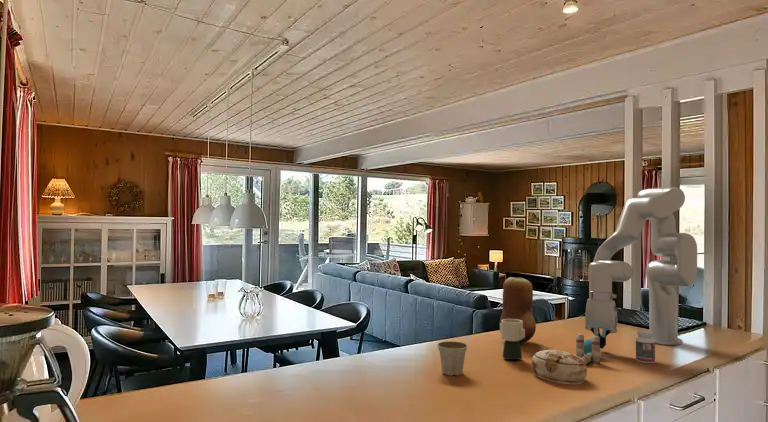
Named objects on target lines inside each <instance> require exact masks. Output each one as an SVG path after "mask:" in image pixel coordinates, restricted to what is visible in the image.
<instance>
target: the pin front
mask: <svg viewBox="0 0 768 422" xmlns="http://www.w3.org/2000/svg"><path fill="white" fill-rule="evenodd" d="M581 359H583V360H584V363H585V365H587V364H589V363H590V362H592V353H587V354H586V355H585V354H584V356H583V357H581Z"/></svg>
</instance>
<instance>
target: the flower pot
mask: <svg viewBox="0 0 768 422" xmlns="http://www.w3.org/2000/svg"><path fill="white" fill-rule="evenodd" d="M436 345H437V347H438V351H439V357H440V363H441V372H442V374H443V375H447V376H449V377H450V376H453V375H454V376H461V375H462V374H463V373H464V364H465V356H466V352H467V349H468V348H469V345H468V344H467V343H465V342H462V341H455V340H454V341H452V340H451V341H450V340H448V341H440V342H438V343H437V344H436Z"/></svg>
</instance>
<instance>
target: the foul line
mask: <svg viewBox="0 0 768 422" xmlns="http://www.w3.org/2000/svg"><path fill="white" fill-rule="evenodd" d="M601 356H602V357H606V358H607V357H608V358H614V359H620V356H615V355H609V354H608V355H607V354H602V353H600V357H601Z"/></svg>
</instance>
